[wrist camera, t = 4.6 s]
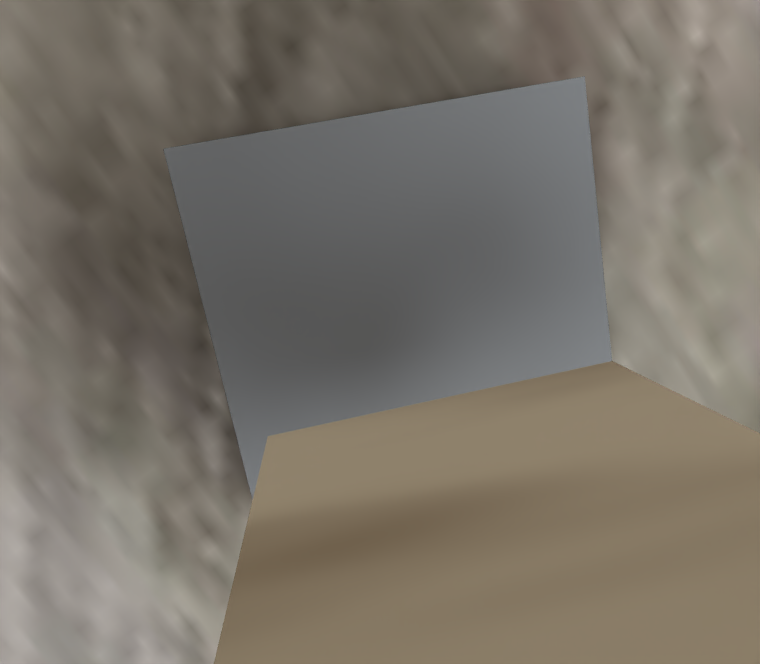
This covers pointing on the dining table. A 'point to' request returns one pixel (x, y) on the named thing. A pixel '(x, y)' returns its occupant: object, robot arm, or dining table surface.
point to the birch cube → (506, 532)
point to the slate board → (395, 256)
